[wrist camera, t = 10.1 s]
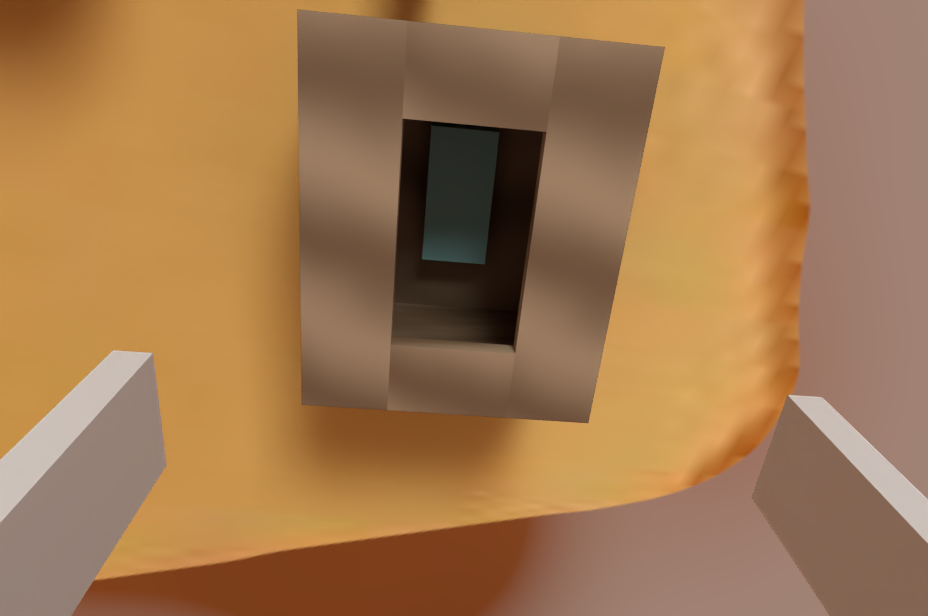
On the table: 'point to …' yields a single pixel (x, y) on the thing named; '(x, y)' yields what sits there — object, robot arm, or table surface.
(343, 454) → the table surface
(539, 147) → the coin box
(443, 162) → the teal rectangular block
